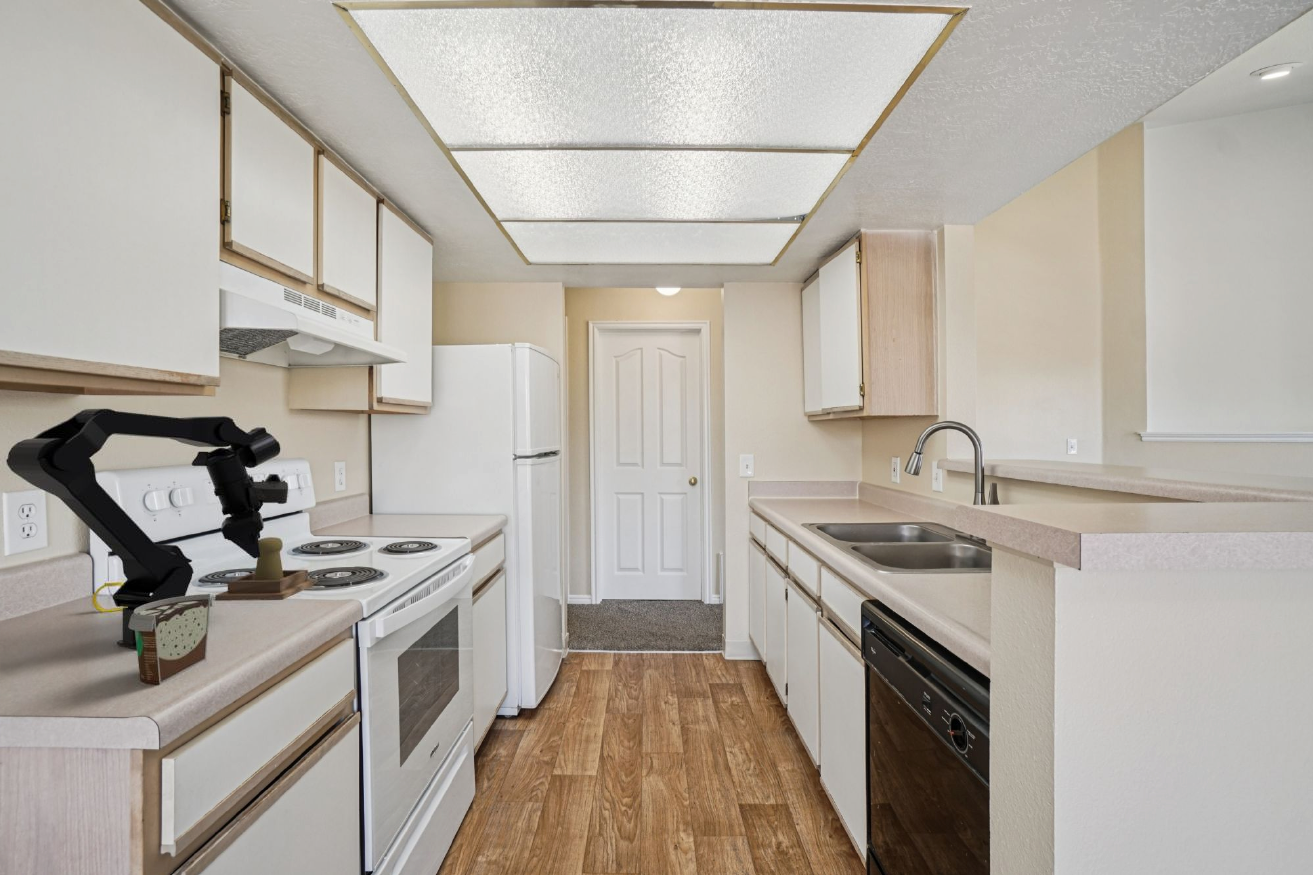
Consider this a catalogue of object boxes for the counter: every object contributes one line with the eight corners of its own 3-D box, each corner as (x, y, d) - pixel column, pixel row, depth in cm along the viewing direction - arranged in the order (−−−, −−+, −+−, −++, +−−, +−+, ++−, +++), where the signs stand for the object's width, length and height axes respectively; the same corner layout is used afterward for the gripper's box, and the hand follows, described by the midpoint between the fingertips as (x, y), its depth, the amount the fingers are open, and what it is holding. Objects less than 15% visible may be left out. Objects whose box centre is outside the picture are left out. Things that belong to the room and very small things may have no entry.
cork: (247, 590, 129) (247, 540, 129) (261, 583, 135) (261, 535, 135) (276, 589, 130) (276, 539, 130) (289, 583, 136) (289, 535, 136)
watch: (133, 608, 121) (136, 578, 121) (130, 611, 118) (133, 581, 119) (93, 610, 117) (96, 580, 118) (90, 614, 115) (93, 583, 115)
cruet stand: (283, 599, 126) (283, 582, 126) (215, 599, 126) (215, 583, 126) (317, 583, 140) (317, 568, 140) (257, 583, 140) (257, 569, 140)
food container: (171, 657, 93) (171, 593, 93) (212, 656, 93) (212, 592, 93) (103, 690, 80) (103, 617, 80) (151, 689, 81) (151, 616, 81)
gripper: (279, 481, 110) (305, 552, 116) (276, 453, 125) (299, 517, 131) (208, 500, 105) (238, 574, 111) (214, 468, 120) (240, 535, 126)
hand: (257, 547), depth 120 cm, fingers open, 9 cm apart
